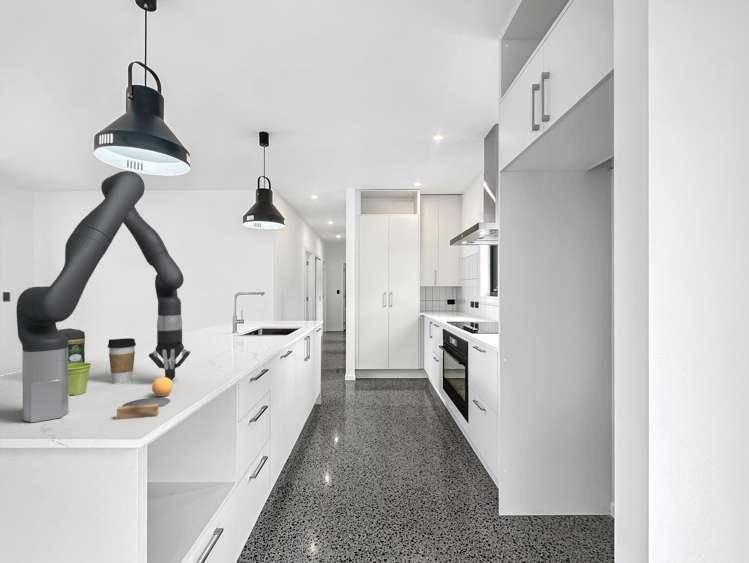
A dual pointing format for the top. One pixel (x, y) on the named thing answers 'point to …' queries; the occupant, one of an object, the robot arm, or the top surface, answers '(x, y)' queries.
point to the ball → (162, 386)
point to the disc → (148, 402)
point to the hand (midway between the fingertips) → (170, 380)
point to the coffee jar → (75, 345)
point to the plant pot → (78, 377)
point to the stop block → (137, 411)
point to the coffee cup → (121, 359)
